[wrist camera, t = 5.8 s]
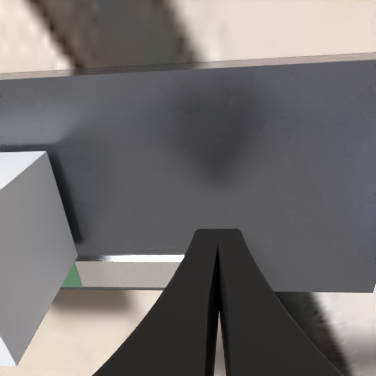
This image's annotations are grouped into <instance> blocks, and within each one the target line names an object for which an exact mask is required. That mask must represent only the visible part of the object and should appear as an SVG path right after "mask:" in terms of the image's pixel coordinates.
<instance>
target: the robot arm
mask: <svg viewBox="0 0 376 376" xmlns="http://www.w3.org/2000/svg"><path fill="white" fill-rule="evenodd" d="M219 312H220V321H221V331H222V340H223V349H224V358H225V368H226V376H344V375H343V374H342V373H341V372H340V371H339V370H338V369H337V368H336V367H335V366H334V365H333V364H332V363H331V362H330V361H329V360H328V359H327V358H326V357H325V356H324V355H323V353H322V352H321V351H320V350H319V349H318V348H317V346H316V345H315V344H314V343H313V342H312V341H311V340H310V338H309V337H308V336H307V335H306V334H305V332H304V331H303V330H302V329H301V328H300V326H299V325H298V324H297V323H296V321H295V320H294V319H293V318H292V316H291V315H290V314H289V312H288V311H287V310H286V308H285V307H284V306H283V304H282V303H281V301H280V300H279V298H278V297H277V296H276V294H275V293H274V291H273V290H272V288H271V287H270V285H269V284H268V282H267V281H266V279H265V277H264V276H263V274H262V272H261V271H260V269H259V267H258V266H257V264H256V262H255V260H254V259H253V257H252V255H251V253H250V251H249V249H248V247H247V245H246V242H245V240H244V237H243V235H242V232H241V231H240V230H239V229H197V230H196V231H195V232H194V235H193V238H192V240H191V243H190V245H189V247H188V249H187V251H186V253H185V255H184V257H183V259H182V261H181V263H180V265H179V266H178V268H177V270H176V272H175V273H174V275H173V277H172V278H171V280H170V282H169V283H168V285H167V286H166V288H165V289H164V291H163V292H162V294H161V295H160V297H159V298H158V300H157V301H156V303H155V304H154V305H153V307H152V308H151V309H150V311H149V312H148V313H147V315H146V316H145V317H144V319H143V320H142V321H141V322H140V324H139V325H138V326H137V327H136V329H135V330H134V331H133V332H132V333H131V334H130V336H129V337H128V338H127V339H126V340H125V341H124V343H123V344H122V345H121V346H120V347H119V348H118V349H117V351H116V352H115V353H114V354H113V355H112V356H111V357H110V358H109V359H108V360H107V361H106V362H105V363H104V364H103V366H102V367H100V368H99V369H98V370H97V371H96V372H95V373H94V374H93V375H92V376H214V365H215V353H216V342H217V330H218V318H219Z"/></svg>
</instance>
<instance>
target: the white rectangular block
mask: <svg viewBox="0 0 376 376" xmlns="http://www.w3.org/2000/svg"><path fill="white" fill-rule="evenodd" d="M77 257H78V254H77V251H76V248H75V244H74V241H73V238H72V234H71V231H70V228H69V224H68V221H67V218H66V214H65V211H64V208H63V204H62V201H61V198H60V194H59V191H58V188H57V184H56V181H55V178H54V174H53V171H52V168H51V164H50V161H49V158H48V154H47V151H32V152H0V366H17V365H18V363H19V361H20V360H21V358H22V356H23V354H24V352H25V351H26V349H27V347H28V345H29V343H30V342H31V340H32V338H33V336H34V334H35V332H36V331H37V329H38V327H39V325H40V323H41V322H42V320H43V318H44V316H45V314H46V313H47V311H48V309H49V307H50V305H51V304H52V302H53V300H54V298H55V296H56V295H57V293H58V291H59V289H60V287H61V286H62V284H63V282H64V280H65V278H66V277H67V275H68V273H69V271H70V269H71V268H72V266H73V264H74V262H75V260H76V259H77Z"/></svg>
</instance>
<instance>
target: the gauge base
mask: <svg viewBox="0 0 376 376" xmlns="http://www.w3.org/2000/svg"><path fill="white" fill-rule="evenodd" d="M32 151H47V154H48V158H49V161H50V164H51V168H52V171H53V174H54V178H55V181H56V184H57V188H58V191H59V194H60V198H61V201H62V204H63V208H64V211H65V214H66V218H67V221H68V224H69V228H70V231H71V234H72V238H73V241H74V244H75V248H76V251H77V254H78V257H77V259H76V260H75V262H74V264H73V266H72V268H71V269H70V271H69V273H68V275H67V277H66V278H65V280H64V282H63V284H62V286H61V287H60V289H91V290H164V289H165V288H166V286H167V285H168V283H169V282H170V280H171V278H172V277H173V275H174V273H175V272H176V270H177V268H178V266H179V265H180V263H181V261H182V259H183V257H184V255H185V253H186V251H187V249H188V247H189V245H190V243H191V240H192V238H193V235H194V232H195V231H196V230H197V229H239V230H240V231H241V232H242V235H243V237H244V240H245V242H246V245H247V247H248V249H249V251H250V253H251V255H252V257H253V259H254V260H255V262H256V264H257V266H258V267H259V269H260V271H261V272H262V274H263V276H264V277H265V279H266V281H267V282H268V284H269V285H270V287H271V288H272V290H273V291H274V292H353V293H373V291H374V287H375V284H376V53H358V54H341V55H323V56H305V57H287V58H269V59H251V60H233V61H215V62H198V63H180V64H162V65H144V66H126V67H108V68H90V69H72V70H55V71H37V72H19V73H1V74H0V152H32Z"/></svg>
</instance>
